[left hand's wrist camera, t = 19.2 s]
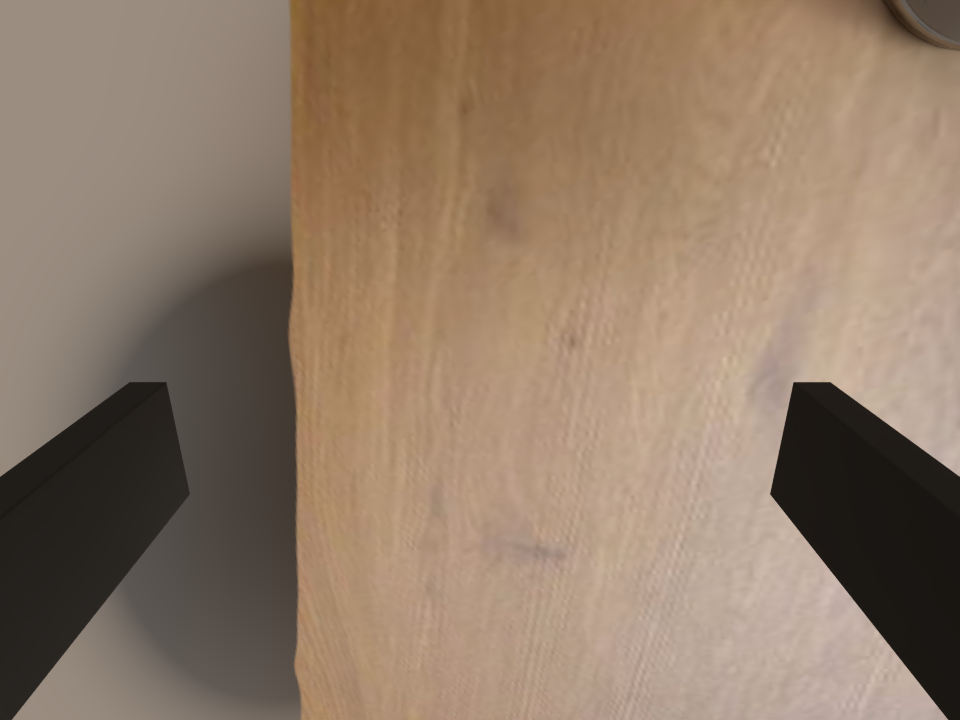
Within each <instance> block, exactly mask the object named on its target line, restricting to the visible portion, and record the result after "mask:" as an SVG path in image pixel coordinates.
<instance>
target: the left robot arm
mask: <svg viewBox="0 0 960 720" xmlns="http://www.w3.org/2000/svg"><path fill="white" fill-rule="evenodd" d="M885 2H886V4H887V6H888V7H889V9H890V10H891V12H892V13H893V14H894V16H895V17H896V18H897V19H898V21H899V22H900V23H901V24H902V25H903V26H904V27H905V28H907V29H908V30H909V31H910V32H912V33H913V34H914V35H916V36H917V37H919V38H921V39H923V40H924V41H926V42H929V43H931V44H934V45H936V46H939V47H943V48H947V49H954V50H960V0H885ZM189 494H190V493H189V488H188V483H187V479H186V474H185V469H184V465H183V460H182V455H181V450H180V445H179V440H178V436H177V431H176V426H175V421H174V417H173V412H172V407H171V402H170V398H169V393H168V388H167V383H166V382H130V383H128V384H127V385H125V386H124V387H123V388H121V389H120V390H119V391H117V392H116V393H114V394H113V395H112V396H110V397H109V398H108V399H106V400H105V401H103V402H102V403H101V404H99V405H98V406H97V407H95V408H94V409H93V410H91V411H90V412H88V413H87V414H86V415H84V416H83V417H82V418H80V419H79V420H77V421H76V422H75V423H73V424H72V425H71V426H69V427H68V428H67V429H65V430H64V431H62V432H61V433H60V434H58V435H57V436H56V437H54V438H53V439H51V440H50V441H49V442H47V443H46V444H45V445H43V446H42V447H40V448H39V449H38V450H36V451H35V452H34V453H32V454H31V455H30V456H28V457H27V458H25V459H24V460H23V461H21V462H20V463H19V464H17V465H16V466H15V467H13V468H12V469H10V470H9V471H8V472H6V473H5V474H4V475H2V476H1V477H0V720H12V719H13V717H14V716H15V715H16V714H17V712H18V711H19V710H20V709H21V707H22V706H23V705H24V704H25V702H26V701H27V700H28V698H29V697H30V696H31V695H32V693H33V692H34V691H35V690H36V688H37V687H38V686H39V684H40V683H41V682H42V681H43V679H44V678H45V677H46V676H47V674H48V673H49V672H50V671H51V669H52V668H53V667H54V665H55V664H56V663H57V662H58V660H59V659H60V658H61V657H62V655H63V654H64V653H65V652H66V650H67V649H68V648H69V647H70V645H71V644H72V643H73V641H74V640H75V639H76V638H77V636H78V635H79V634H80V633H81V631H82V630H83V629H84V628H85V626H86V625H87V624H88V622H89V621H90V620H91V619H92V617H93V616H94V615H95V614H96V612H97V611H98V610H99V608H100V607H101V606H102V605H103V603H104V602H105V601H106V600H107V598H108V597H109V596H110V595H111V593H112V592H113V591H114V590H115V588H116V587H117V586H118V584H119V583H120V582H121V581H122V579H123V578H124V577H125V576H126V574H127V573H128V572H129V571H130V569H131V568H132V567H133V565H134V564H135V563H136V562H137V560H138V559H139V558H140V557H141V555H142V554H143V553H144V552H145V550H146V549H147V548H148V546H149V545H150V544H151V543H152V541H153V540H154V539H155V538H156V536H157V535H158V534H159V533H160V531H161V530H162V529H163V527H164V526H165V525H166V524H167V522H168V521H169V520H170V519H171V517H172V516H173V515H174V513H175V512H176V511H177V510H178V508H179V507H180V506H181V505H182V503H183V502H184V501H185V499H186V498H187V497H188V496H189ZM770 495H771V496H772V497H773V498H774V500H775V501H776V502H777V503H778V505H779V506H780V507H781V508H782V510H783V511H784V512H785V514H786V515H787V516H788V517H789V519H790V520H791V521H792V522H793V524H794V525H795V526H796V527H797V529H798V530H799V531H800V533H801V534H802V535H803V536H804V538H805V539H806V540H807V541H808V543H809V544H810V545H811V546H812V548H813V549H814V550H815V552H816V553H817V554H818V555H819V557H820V558H821V559H822V560H823V562H824V563H825V564H826V565H827V567H828V568H829V569H830V571H831V572H832V573H833V574H834V576H835V577H836V578H837V579H838V581H839V582H840V583H841V584H842V586H843V587H844V588H845V590H846V591H847V592H848V593H849V595H850V596H851V597H852V598H853V600H854V601H855V602H856V603H857V605H858V606H859V607H860V609H861V610H862V611H863V612H864V614H865V615H866V616H867V617H868V619H869V620H870V621H871V622H872V624H873V625H874V626H875V628H876V629H877V630H878V631H879V633H880V634H881V635H882V636H883V638H884V639H885V640H886V641H887V643H888V644H889V645H890V647H891V648H892V649H893V650H894V652H895V653H896V654H897V655H898V657H899V658H900V659H901V660H902V662H903V663H904V664H905V666H906V667H907V668H908V669H909V671H910V672H911V673H912V674H913V676H914V677H915V678H916V679H917V681H918V682H919V683H920V685H921V686H922V687H923V688H924V690H925V691H926V692H927V693H928V695H929V696H930V697H931V698H932V700H933V701H934V702H935V704H936V705H937V706H938V707H939V709H940V710H941V711H942V712H943V714H944V715H945V716H946V717H947V719H948V720H960V477H959V476H958V475H956V474H955V473H954V472H952V471H951V470H950V469H948V468H947V467H946V466H944V465H943V464H941V463H940V462H939V461H937V460H936V459H935V458H933V457H932V456H930V455H929V454H928V453H926V452H925V451H924V450H922V449H921V448H920V447H918V446H917V445H915V444H914V443H913V442H911V441H910V440H909V439H907V438H906V437H904V436H903V435H902V434H900V433H899V432H898V431H896V430H895V429H894V428H892V427H891V426H889V425H888V424H887V423H885V422H884V421H883V420H881V419H880V418H878V417H877V416H876V415H874V414H873V413H872V412H870V411H869V410H868V409H866V408H865V407H863V406H862V405H861V404H859V403H858V402H857V401H855V400H854V399H852V398H851V397H850V396H848V395H847V394H846V393H844V392H843V391H841V390H840V389H839V388H837V387H836V386H835V385H833V384H832V383H831V382H794V383H793V388H792V393H791V398H790V402H789V407H788V412H787V417H786V421H785V426H784V431H783V436H782V440H781V445H780V450H779V455H778V460H777V464H776V469H775V474H774V479H773V483H772V488H771V493H770Z"/></svg>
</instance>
